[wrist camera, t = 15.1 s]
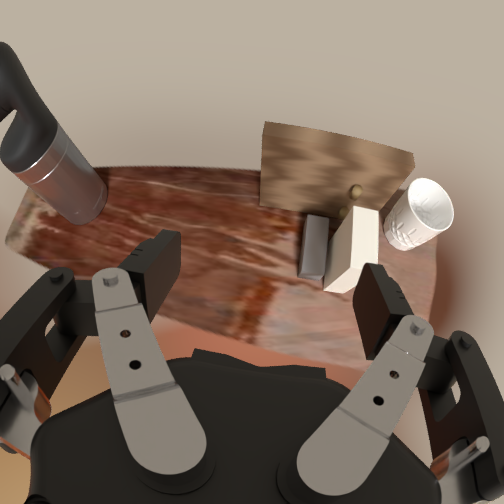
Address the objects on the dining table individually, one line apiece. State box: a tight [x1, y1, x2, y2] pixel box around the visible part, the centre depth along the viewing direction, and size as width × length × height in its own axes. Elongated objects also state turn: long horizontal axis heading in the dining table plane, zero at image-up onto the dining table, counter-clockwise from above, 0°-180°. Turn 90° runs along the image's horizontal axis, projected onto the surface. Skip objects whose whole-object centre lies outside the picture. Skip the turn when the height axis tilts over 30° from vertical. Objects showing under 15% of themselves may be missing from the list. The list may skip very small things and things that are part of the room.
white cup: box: [383, 178, 454, 251], centre depth 37 cm, size 8×8×10 cm
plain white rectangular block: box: [323, 206, 378, 293], centre depth 34 cm, size 3×7×12 cm, turn 170°
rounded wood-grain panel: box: [260, 121, 415, 286], centre depth 34 cm, size 17×12×16 cm
